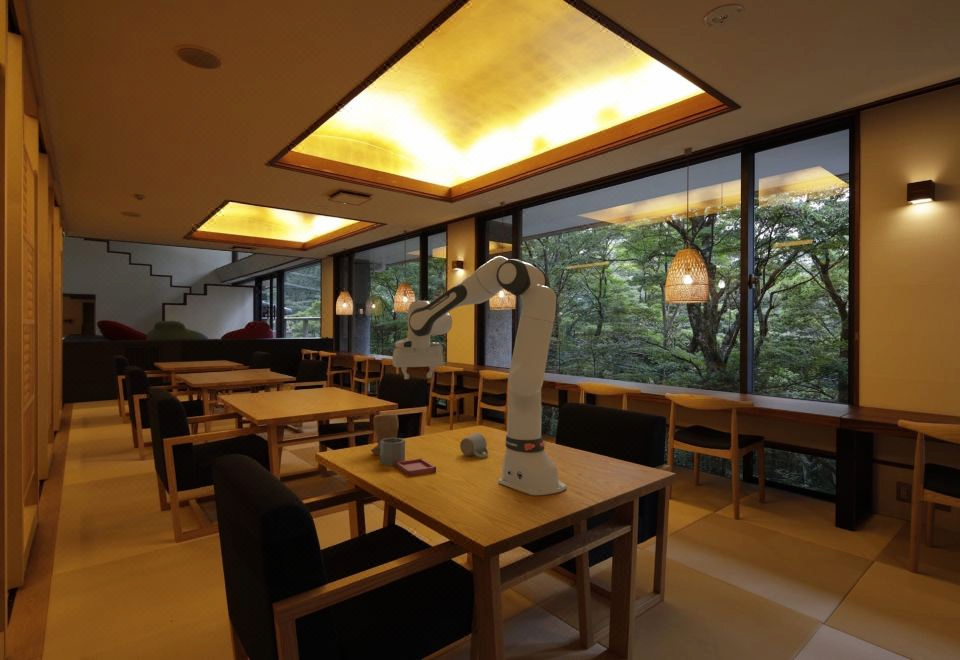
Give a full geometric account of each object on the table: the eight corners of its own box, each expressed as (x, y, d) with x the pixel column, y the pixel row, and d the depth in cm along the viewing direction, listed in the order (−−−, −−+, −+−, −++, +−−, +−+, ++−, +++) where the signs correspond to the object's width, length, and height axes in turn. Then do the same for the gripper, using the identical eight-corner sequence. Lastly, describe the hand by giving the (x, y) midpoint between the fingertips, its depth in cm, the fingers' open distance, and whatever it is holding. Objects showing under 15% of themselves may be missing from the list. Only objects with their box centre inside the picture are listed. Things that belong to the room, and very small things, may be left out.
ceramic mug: (458, 454, 187) (458, 435, 187) (472, 450, 193) (472, 431, 193) (479, 460, 180) (480, 440, 180) (493, 456, 187) (493, 436, 186)
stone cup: (382, 446, 198) (382, 409, 198) (408, 448, 195) (409, 411, 194) (362, 455, 184) (363, 416, 183) (390, 458, 180) (391, 418, 180)
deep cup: (407, 463, 174) (407, 441, 174) (385, 467, 169) (385, 444, 169) (398, 458, 181) (399, 436, 181) (377, 461, 177) (377, 439, 176)
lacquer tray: (436, 472, 165) (436, 467, 165) (408, 476, 160) (408, 471, 160) (421, 463, 175) (421, 458, 175) (395, 467, 170) (395, 461, 170)
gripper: (439, 342, 196) (438, 376, 196) (391, 342, 185) (390, 378, 185) (446, 342, 190) (445, 378, 190) (397, 343, 180) (396, 380, 180)
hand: (418, 378), depth 188 cm, fingers open, 8 cm apart
